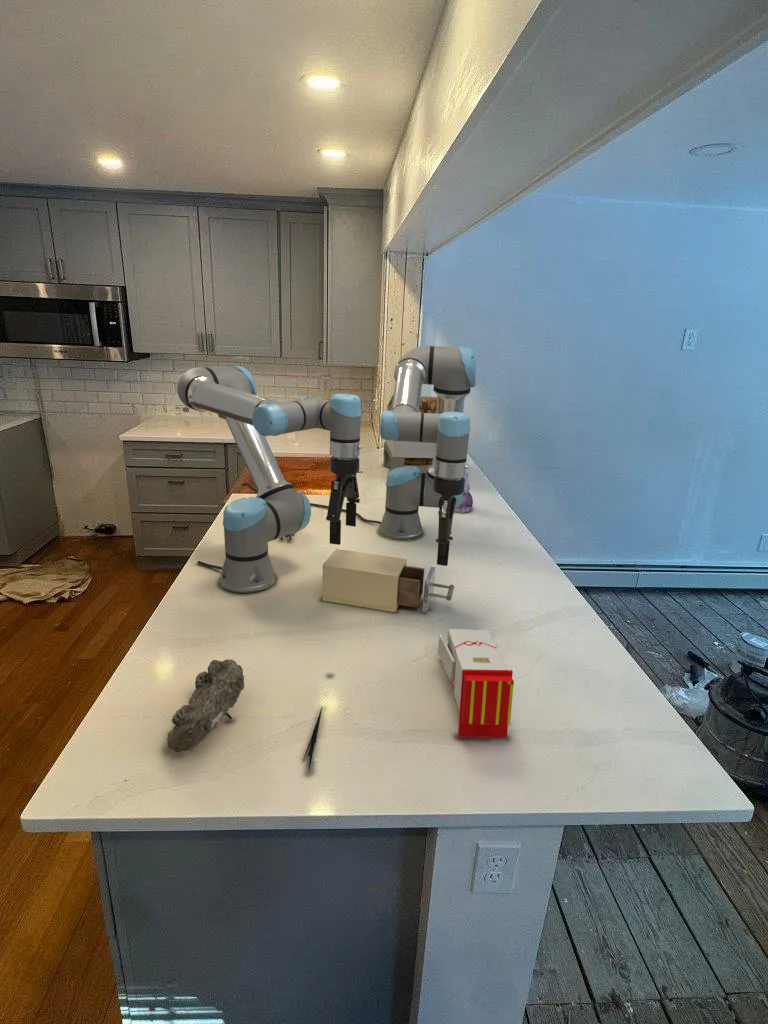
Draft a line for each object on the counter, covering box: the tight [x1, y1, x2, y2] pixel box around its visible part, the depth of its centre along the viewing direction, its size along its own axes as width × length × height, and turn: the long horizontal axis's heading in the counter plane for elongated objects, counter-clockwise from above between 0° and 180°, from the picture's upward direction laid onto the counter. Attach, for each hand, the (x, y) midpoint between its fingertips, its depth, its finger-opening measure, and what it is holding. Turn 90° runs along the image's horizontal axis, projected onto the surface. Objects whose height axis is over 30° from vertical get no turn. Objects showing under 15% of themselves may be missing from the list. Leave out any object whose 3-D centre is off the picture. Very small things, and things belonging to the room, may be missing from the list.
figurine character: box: [279, 533, 296, 542], centre depth 193 cm, size 7×8×15 cm
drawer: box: [397, 565, 455, 613], centre depth 151 cm, size 25×10×8 cm, turn 76°
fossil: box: [166, 658, 245, 754], centre depth 106 cm, size 22×10×15 cm
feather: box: [301, 673, 332, 771], centre depth 108 cm, size 2×28×2 cm
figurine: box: [454, 472, 474, 514], centre depth 225 cm, size 9×10×15 cm
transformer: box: [383, 393, 438, 472], centre depth 268 cm, size 34×33×41 cm
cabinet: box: [321, 548, 408, 613], centre depth 154 cm, size 20×11×10 cm, turn 76°
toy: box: [437, 628, 515, 738], centre depth 117 cm, size 12×13×30 cm
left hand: (343, 534), depth 151 cm, fingers open, 13 cm apart
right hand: (442, 564), depth 147 cm, fingers closed
